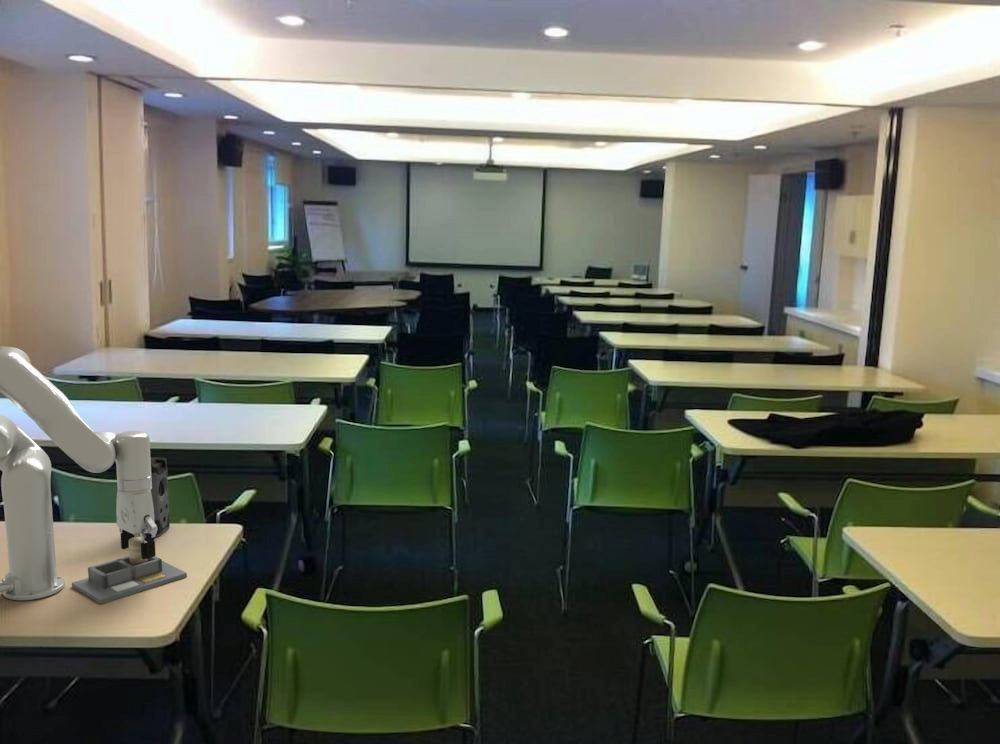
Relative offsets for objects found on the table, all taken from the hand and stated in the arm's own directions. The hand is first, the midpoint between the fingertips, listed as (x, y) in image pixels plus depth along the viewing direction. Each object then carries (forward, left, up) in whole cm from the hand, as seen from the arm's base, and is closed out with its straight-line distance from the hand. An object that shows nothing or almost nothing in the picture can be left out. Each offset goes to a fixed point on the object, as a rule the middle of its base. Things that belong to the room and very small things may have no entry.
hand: (138, 552), depth 211 cm
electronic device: (+18, +26, -6) cm, 32 cm away
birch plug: (0, 0, -5) cm, 5 cm away
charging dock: (-3, -1, -6) cm, 7 cm away
